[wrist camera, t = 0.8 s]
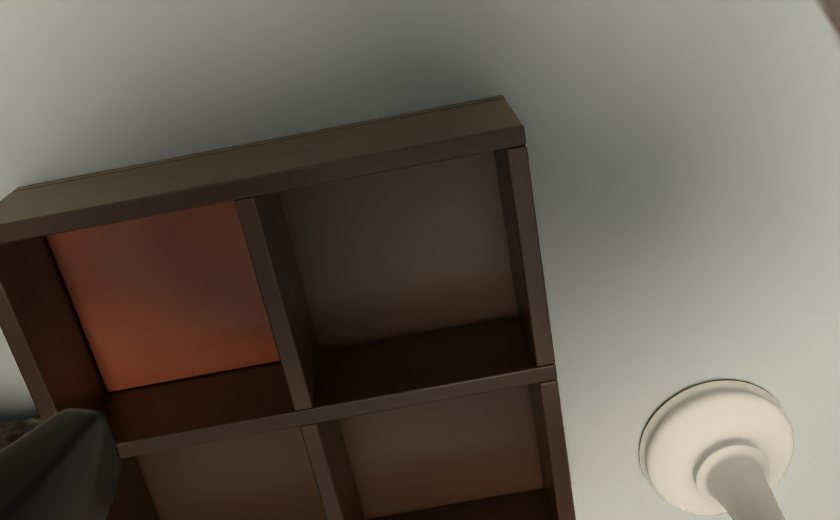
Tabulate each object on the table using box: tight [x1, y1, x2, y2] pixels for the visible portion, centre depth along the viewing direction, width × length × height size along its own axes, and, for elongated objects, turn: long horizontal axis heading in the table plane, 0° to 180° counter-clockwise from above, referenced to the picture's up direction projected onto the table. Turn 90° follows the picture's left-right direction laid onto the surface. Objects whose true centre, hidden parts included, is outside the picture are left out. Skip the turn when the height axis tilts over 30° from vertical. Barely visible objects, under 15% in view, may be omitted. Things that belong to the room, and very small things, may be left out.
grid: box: [0, 95, 576, 520], centre depth 23 cm, size 14×14×3 cm
